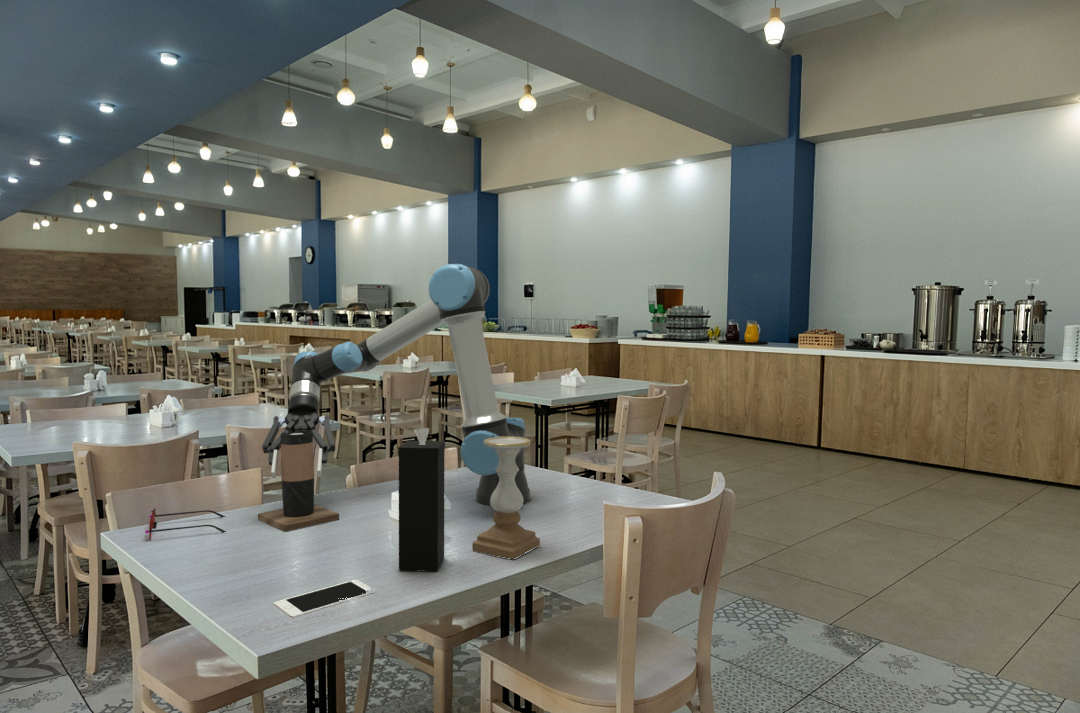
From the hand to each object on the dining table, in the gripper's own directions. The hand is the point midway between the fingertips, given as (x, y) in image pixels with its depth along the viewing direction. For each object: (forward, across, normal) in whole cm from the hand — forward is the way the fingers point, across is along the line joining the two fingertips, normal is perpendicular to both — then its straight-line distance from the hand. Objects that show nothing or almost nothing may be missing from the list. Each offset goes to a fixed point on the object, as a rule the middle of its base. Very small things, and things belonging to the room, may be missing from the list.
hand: (296, 474), depth 166 cm
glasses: (+9, +24, -9) cm, 28 cm away
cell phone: (+43, -11, +25) cm, 51 cm away
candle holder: (+28, -47, +11) cm, 56 cm away
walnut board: (+6, 0, -11) cm, 12 cm away
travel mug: (+5, 0, -10) cm, 11 cm away
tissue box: (+33, -29, +16) cm, 46 cm away
